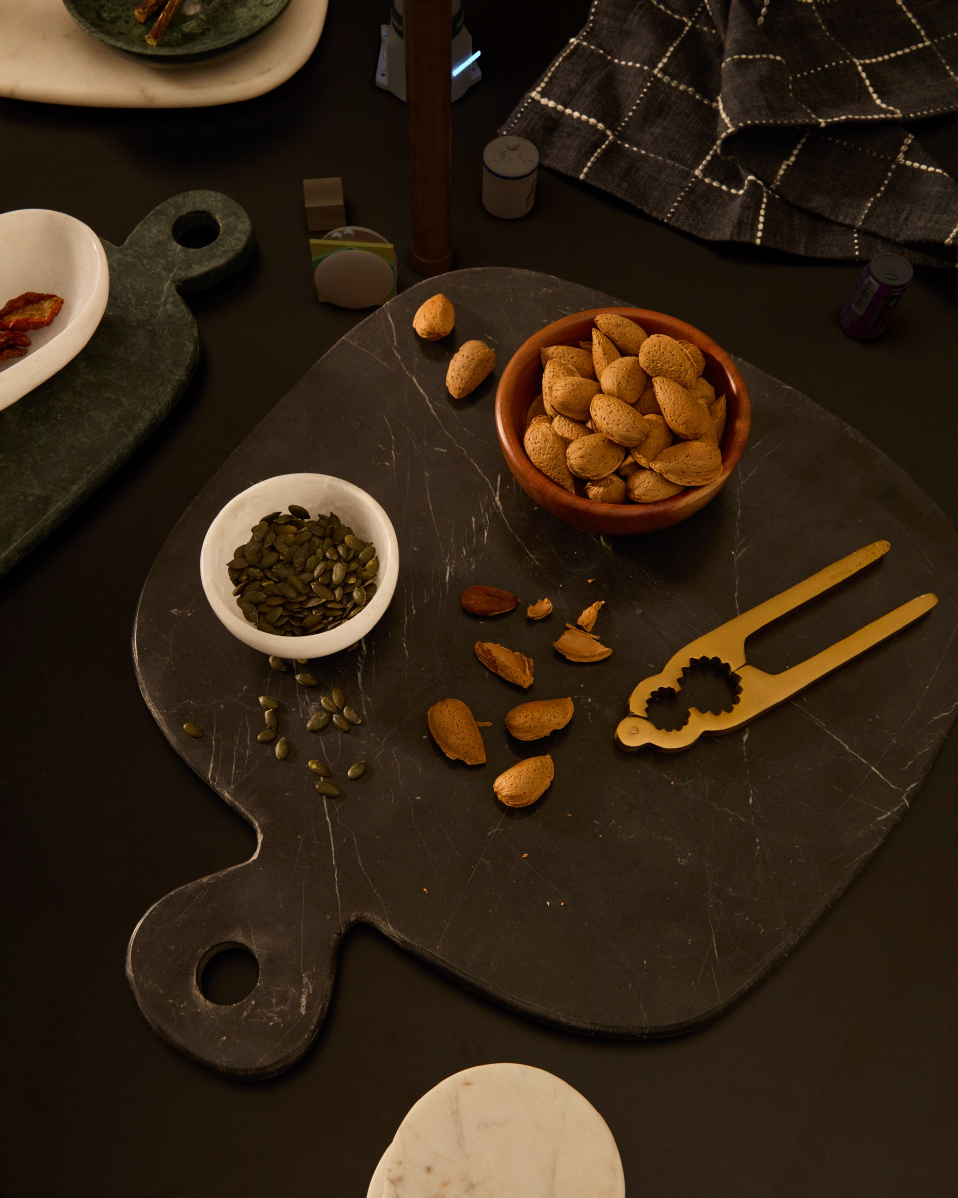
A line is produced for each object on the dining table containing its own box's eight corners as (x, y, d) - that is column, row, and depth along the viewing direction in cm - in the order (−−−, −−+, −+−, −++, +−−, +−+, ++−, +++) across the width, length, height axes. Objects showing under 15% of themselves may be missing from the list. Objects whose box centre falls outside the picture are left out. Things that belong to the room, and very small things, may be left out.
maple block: (307, 204, 159) (303, 179, 155) (343, 201, 160) (341, 176, 155) (309, 231, 157) (305, 206, 152) (346, 228, 157) (343, 204, 153)
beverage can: (882, 346, 150) (916, 290, 139) (836, 338, 151) (866, 282, 140) (883, 311, 153) (916, 254, 142) (838, 303, 154) (868, 246, 143)
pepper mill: (408, 245, 156) (392, -91, 111) (450, 242, 157) (452, -94, 111) (412, 277, 153) (398, -54, 108) (455, 274, 154) (459, -57, 108)
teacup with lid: (537, 220, 159) (544, 161, 149) (482, 221, 159) (484, 162, 148) (531, 168, 165) (537, 107, 154) (477, 169, 164) (479, 108, 154)
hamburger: (400, 276, 153) (396, 216, 143) (395, 317, 150) (391, 259, 139) (324, 271, 153) (314, 211, 143) (317, 312, 150) (307, 254, 139)
